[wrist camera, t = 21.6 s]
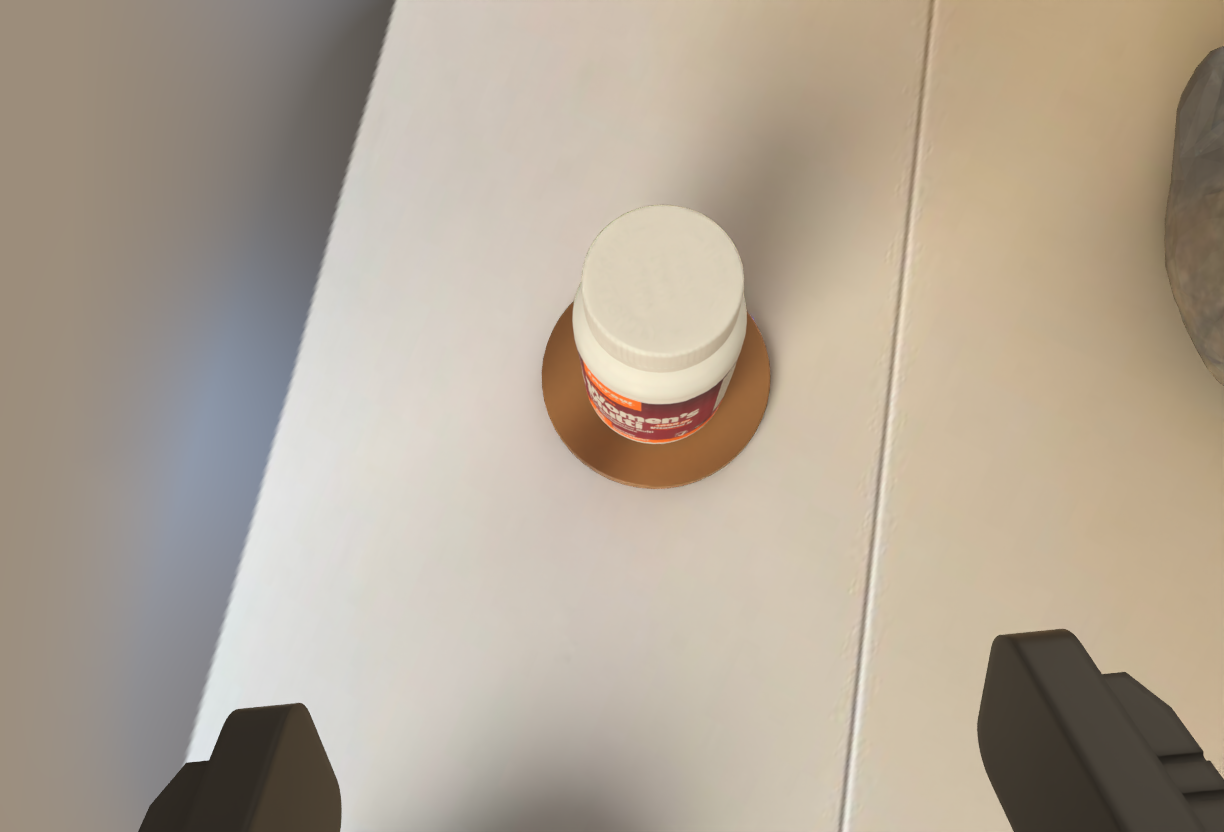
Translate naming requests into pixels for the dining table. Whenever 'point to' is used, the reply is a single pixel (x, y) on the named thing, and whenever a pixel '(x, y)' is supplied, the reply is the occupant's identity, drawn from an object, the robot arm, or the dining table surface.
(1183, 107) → the vessel
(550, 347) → the coaster
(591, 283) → the pill bottle
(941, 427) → the dining table surface
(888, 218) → the dining table surface
